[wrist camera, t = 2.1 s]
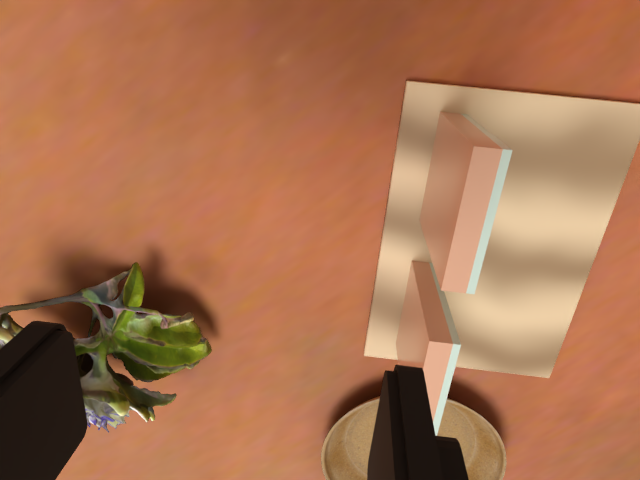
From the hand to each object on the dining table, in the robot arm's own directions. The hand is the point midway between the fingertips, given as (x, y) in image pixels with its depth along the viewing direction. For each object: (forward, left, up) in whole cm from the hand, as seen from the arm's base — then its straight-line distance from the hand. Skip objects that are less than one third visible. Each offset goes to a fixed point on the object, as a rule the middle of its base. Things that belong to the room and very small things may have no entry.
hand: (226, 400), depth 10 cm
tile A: (0, +8, -21) cm, 23 cm away
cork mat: (+5, +12, -22) cm, 25 cm away
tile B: (+10, +8, -21) cm, 25 cm away
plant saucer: (+24, +10, -22) cm, 34 cm away
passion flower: (+14, -14, -22) cm, 30 cm away
